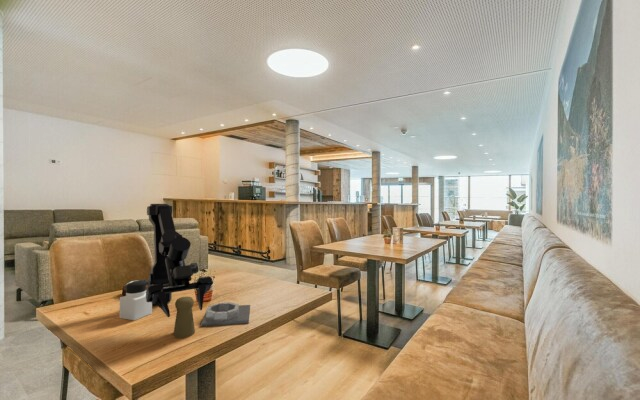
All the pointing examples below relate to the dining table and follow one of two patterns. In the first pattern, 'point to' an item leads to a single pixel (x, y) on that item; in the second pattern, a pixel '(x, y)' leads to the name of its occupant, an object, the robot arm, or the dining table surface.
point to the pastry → (125, 288)
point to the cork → (184, 318)
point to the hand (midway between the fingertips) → (185, 313)
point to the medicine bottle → (135, 301)
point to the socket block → (226, 314)
